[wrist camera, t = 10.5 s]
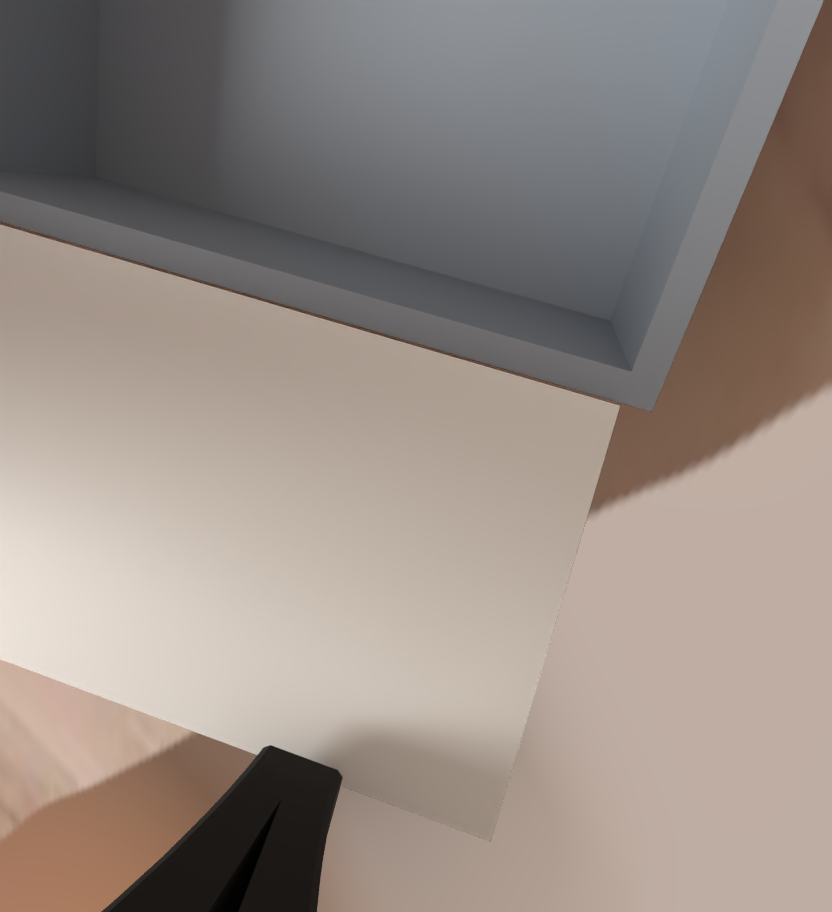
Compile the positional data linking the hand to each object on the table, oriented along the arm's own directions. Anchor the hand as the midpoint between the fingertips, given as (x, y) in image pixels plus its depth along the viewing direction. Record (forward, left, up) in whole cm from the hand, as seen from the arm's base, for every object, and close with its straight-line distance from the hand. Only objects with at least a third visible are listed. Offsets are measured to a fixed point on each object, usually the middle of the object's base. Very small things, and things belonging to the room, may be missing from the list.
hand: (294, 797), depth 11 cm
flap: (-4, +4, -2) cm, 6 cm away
